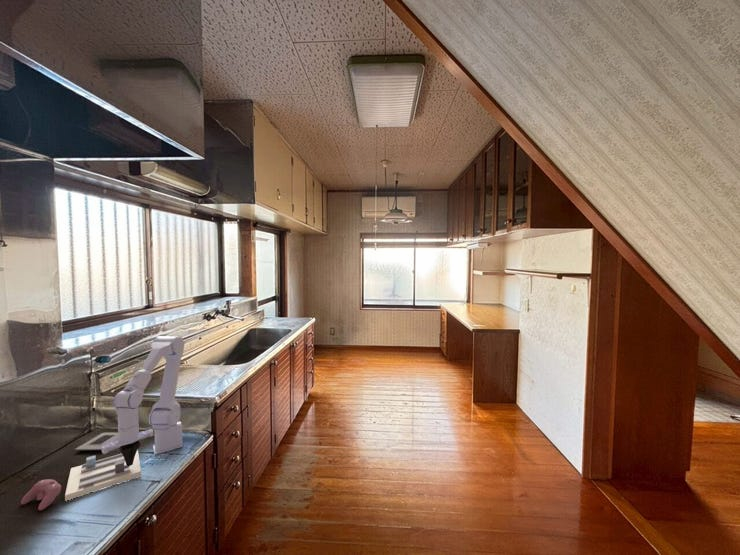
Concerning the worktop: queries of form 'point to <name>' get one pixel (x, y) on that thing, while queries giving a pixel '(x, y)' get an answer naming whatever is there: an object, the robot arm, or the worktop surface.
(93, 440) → the electrical outlet
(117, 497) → the worktop surface
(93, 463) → the slate tab
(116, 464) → the charcoal tab
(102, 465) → the switch panel
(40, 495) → the video game controller
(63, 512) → the worktop surface
